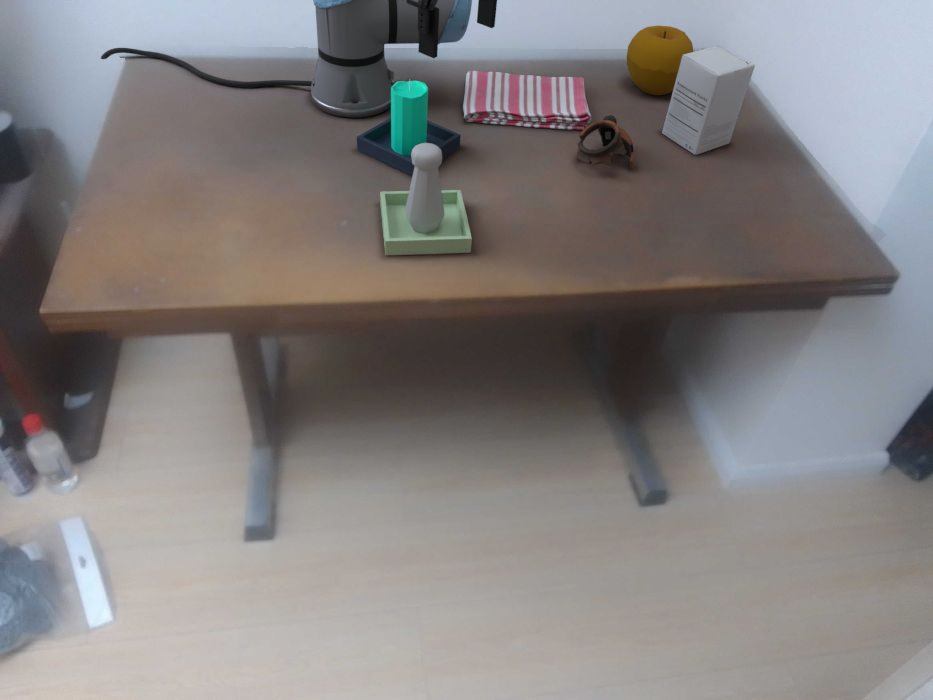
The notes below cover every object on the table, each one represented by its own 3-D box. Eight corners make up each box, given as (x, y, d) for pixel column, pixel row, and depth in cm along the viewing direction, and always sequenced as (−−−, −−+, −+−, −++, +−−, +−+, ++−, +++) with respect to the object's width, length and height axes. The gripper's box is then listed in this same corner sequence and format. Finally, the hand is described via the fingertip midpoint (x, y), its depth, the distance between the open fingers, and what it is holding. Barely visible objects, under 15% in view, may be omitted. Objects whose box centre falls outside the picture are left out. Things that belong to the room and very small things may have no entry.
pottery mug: (639, 181, 128) (626, 148, 122) (584, 194, 132) (570, 162, 126) (637, 130, 134) (625, 95, 128) (585, 144, 138) (571, 111, 132)
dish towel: (590, 132, 138) (594, 114, 136) (462, 123, 137) (463, 105, 135) (581, 88, 150) (584, 71, 148) (463, 79, 150) (464, 62, 147)
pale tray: (385, 255, 109) (385, 241, 107) (380, 205, 118) (380, 191, 116) (470, 252, 111) (472, 238, 109) (459, 203, 120) (460, 189, 118)
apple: (610, 90, 151) (622, 32, 143) (635, 67, 159) (648, 11, 151) (671, 110, 146) (687, 51, 138) (694, 85, 154) (710, 29, 146)
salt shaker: (404, 213, 116) (405, 136, 107) (442, 214, 116) (446, 137, 107) (405, 237, 112) (406, 158, 102) (444, 237, 112) (449, 159, 103)
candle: (431, 142, 131) (434, 75, 123) (418, 158, 127) (420, 90, 119) (399, 134, 132) (399, 67, 124) (385, 150, 128) (384, 82, 120)
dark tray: (357, 150, 129) (356, 136, 127) (404, 123, 136) (404, 110, 134) (414, 177, 124) (414, 163, 122) (459, 148, 131) (460, 134, 130)
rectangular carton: (695, 122, 144) (718, 43, 133) (730, 144, 138) (757, 64, 128) (659, 133, 140) (681, 52, 129) (694, 156, 135) (719, 75, 124)
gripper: (428, -104, 85) (422, 77, 100) (548, -143, 99) (527, 21, 115) (377, -120, 88) (379, 58, 103) (501, -155, 102) (487, 6, 117)
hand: (457, 39), depth 109 cm, fingers open, 13 cm apart
